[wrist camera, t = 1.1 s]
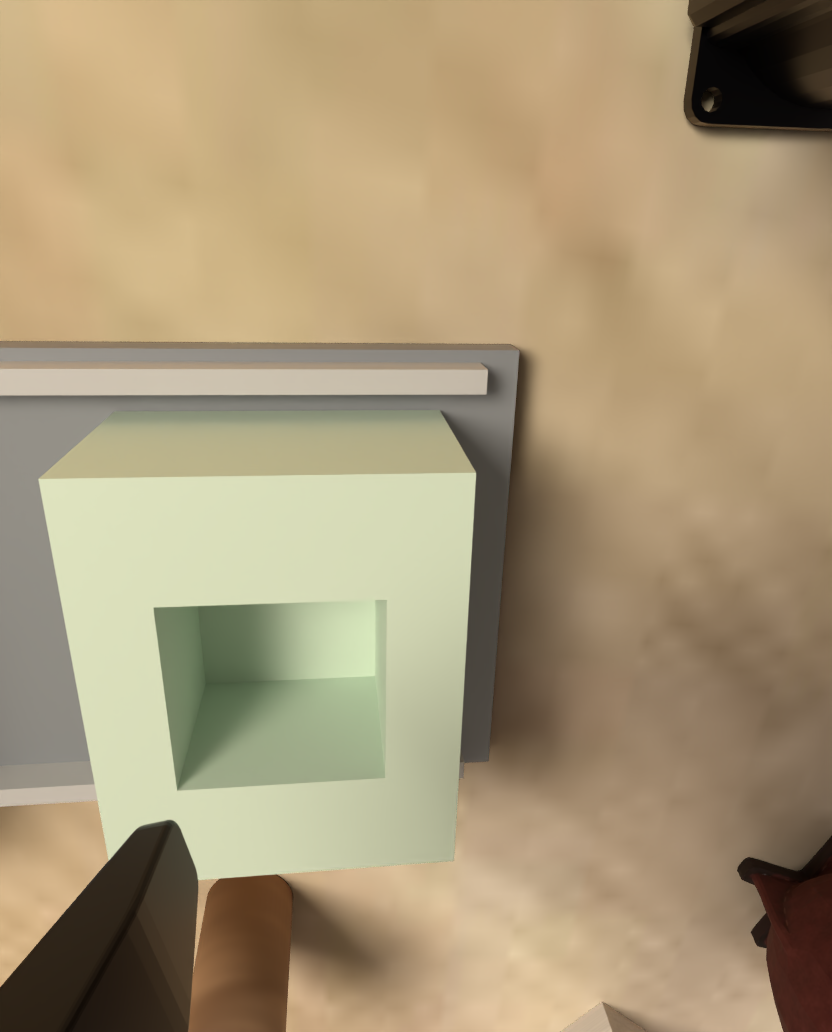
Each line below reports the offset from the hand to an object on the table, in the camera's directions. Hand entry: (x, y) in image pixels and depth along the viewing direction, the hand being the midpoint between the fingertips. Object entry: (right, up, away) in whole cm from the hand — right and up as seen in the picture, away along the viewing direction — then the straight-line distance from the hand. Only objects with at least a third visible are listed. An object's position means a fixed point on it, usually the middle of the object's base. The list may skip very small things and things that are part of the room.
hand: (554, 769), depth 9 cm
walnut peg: (-8, -11, +17) cm, 21 cm away
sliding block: (-5, +1, +11) cm, 12 cm away
